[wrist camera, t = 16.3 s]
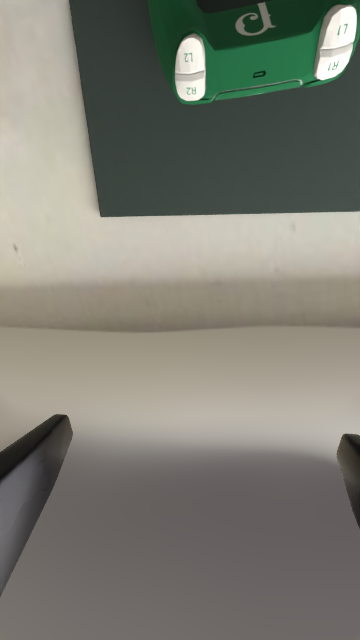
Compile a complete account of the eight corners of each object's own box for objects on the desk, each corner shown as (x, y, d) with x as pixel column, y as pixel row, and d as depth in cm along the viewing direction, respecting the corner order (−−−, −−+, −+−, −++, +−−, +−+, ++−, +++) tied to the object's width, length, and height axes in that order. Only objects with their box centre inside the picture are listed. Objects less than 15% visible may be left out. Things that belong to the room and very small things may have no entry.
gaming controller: (161, 53, 15) (158, 128, 13) (143, -59, 11) (134, 20, 9) (337, 20, 14) (363, 98, 12) (378, -119, 10) (426, -41, 8)
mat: (544, -306, 9) (558, -327, 8) (392, 210, 16) (396, 210, 15) (43, -199, 11) (37, -212, 10) (102, 216, 18) (100, 217, 17)
